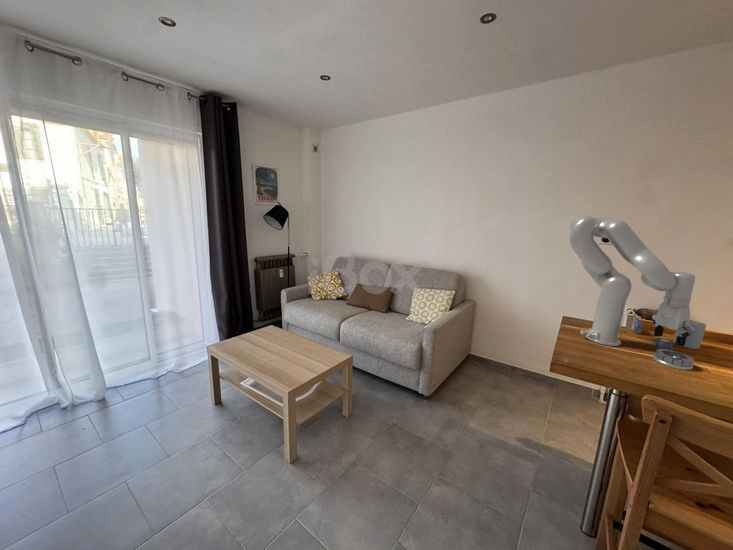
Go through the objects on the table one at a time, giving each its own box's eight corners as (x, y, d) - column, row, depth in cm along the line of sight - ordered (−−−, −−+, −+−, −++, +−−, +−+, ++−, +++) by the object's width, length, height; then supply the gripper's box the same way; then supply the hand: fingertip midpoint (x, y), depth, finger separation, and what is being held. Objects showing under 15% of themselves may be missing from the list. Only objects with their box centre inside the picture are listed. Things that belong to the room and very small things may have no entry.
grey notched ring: (670, 369, 111) (673, 360, 111) (645, 355, 122) (647, 347, 121) (701, 371, 111) (703, 362, 110) (672, 357, 122) (675, 349, 121)
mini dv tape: (630, 329, 152) (633, 318, 151) (634, 329, 152) (637, 318, 150) (636, 334, 145) (638, 323, 144) (640, 335, 144) (642, 323, 143)
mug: (678, 339, 140) (684, 318, 138) (703, 347, 133) (710, 324, 130) (664, 343, 136) (671, 320, 133) (690, 351, 128) (697, 327, 126)
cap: (661, 353, 125) (664, 342, 124) (650, 348, 130) (652, 337, 129) (673, 354, 124) (676, 343, 123) (662, 348, 130) (665, 338, 128)
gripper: (648, 296, 131) (641, 332, 134) (688, 307, 114) (679, 349, 117) (666, 296, 131) (658, 333, 134) (708, 308, 114) (699, 349, 117)
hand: (668, 340), depth 125 cm, fingers open, 9 cm apart
